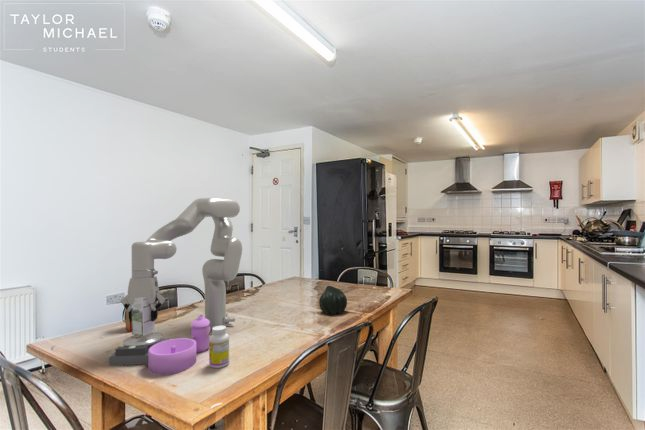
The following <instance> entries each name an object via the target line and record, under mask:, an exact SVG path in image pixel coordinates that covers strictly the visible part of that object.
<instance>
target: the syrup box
mask: <svg viewBox="0 0 645 430" xmlns="http://www.w3.org/2000/svg"><path fill="white" fill-rule="evenodd" d="M151 311H152V308H151V306H150V304H147V301H146V297H137V298H135V299H134V304H132V332H131V334H132V336H133V335H140V336H144V335H147V334H150V333H152V332H155V331H156V326H155V325H156V320H155V321H151Z"/></svg>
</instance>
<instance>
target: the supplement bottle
mask: <svg viewBox="0 0 645 430" xmlns="http://www.w3.org/2000/svg"><path fill="white" fill-rule="evenodd" d="M211 332H212V335H210V336H209V337H210V338H209V348H208V350H209V351H208V353H209V356H208V357H209V359H208V360H209V361H208V362H209V366H210V368H213V369H220V368H224V367H227V366H228V365H229V363H230V336H229V334H228V333H226V332H227V327H226V326H216V327H213V328H212V330H211Z"/></svg>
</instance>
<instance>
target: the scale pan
mask: <svg viewBox="0 0 645 430" xmlns="http://www.w3.org/2000/svg"><path fill="white" fill-rule="evenodd" d="M162 338H163V334H162V333H160V332H155V331H154V332H152V333H150V334H147V335H144V336H140V335H133V334H132V335H131V336H128V337H126V338H125V339H123V341H122V346H147V345H151V344H154V343H156V342H158V341H160V340H161V339H162Z"/></svg>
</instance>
